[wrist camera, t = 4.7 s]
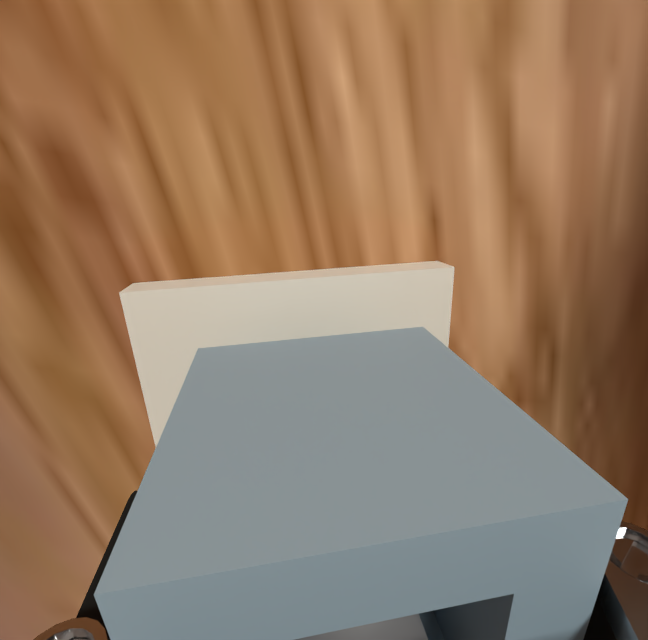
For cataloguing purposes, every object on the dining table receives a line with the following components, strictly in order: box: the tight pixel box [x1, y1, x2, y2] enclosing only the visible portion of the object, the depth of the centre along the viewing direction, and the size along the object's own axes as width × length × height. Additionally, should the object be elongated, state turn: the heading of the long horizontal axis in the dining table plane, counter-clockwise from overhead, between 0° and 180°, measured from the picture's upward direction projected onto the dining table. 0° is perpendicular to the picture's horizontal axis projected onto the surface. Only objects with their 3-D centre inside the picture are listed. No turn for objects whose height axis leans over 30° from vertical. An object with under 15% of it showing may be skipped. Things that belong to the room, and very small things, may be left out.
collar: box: [94, 327, 628, 640], centre depth 8 cm, size 6×7×6 cm
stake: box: [119, 261, 454, 640], centre depth 9 cm, size 10×9×8 cm
